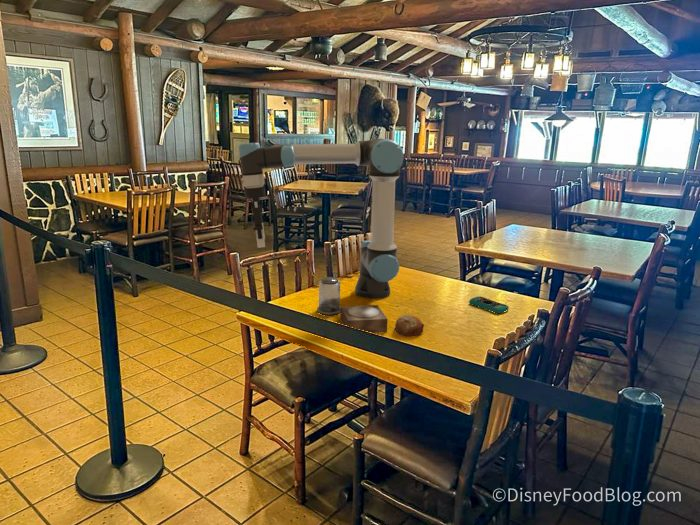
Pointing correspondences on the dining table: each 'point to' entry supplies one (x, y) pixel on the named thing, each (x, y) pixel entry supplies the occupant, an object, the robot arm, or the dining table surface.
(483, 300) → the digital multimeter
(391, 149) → the robot arm
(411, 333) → the bread roll
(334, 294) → the cylinder
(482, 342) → the dining table surface
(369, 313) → the stand
